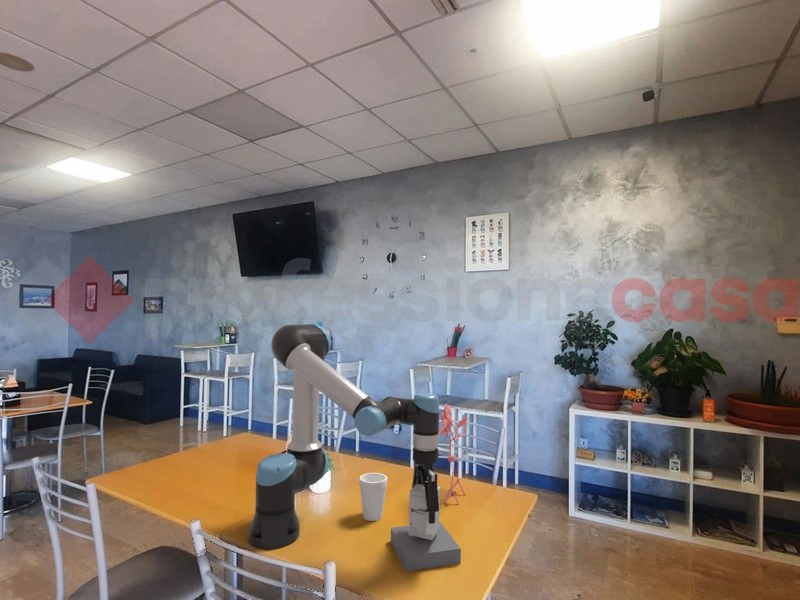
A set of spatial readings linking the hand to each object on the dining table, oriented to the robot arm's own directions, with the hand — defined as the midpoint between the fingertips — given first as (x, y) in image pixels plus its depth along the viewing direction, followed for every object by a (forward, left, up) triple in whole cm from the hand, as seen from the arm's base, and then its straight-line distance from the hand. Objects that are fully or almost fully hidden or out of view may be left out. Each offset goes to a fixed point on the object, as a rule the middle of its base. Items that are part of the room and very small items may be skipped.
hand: (424, 524), depth 126 cm
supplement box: (0, 0, -2) cm, 2 cm away
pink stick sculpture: (+20, +35, -8) cm, 41 cm away
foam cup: (-10, +25, -8) cm, 28 cm away
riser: (0, 0, -8) cm, 8 cm away
